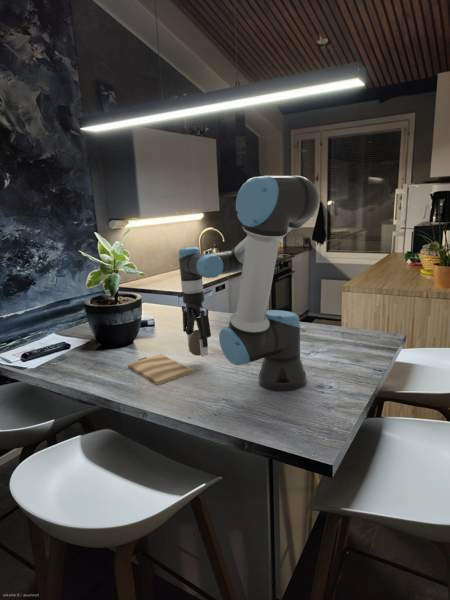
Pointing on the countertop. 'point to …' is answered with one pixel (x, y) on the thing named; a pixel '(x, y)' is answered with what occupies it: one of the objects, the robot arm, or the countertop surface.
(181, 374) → the board
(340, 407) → the countertop surface
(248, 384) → the countertop surface
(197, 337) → the vase
